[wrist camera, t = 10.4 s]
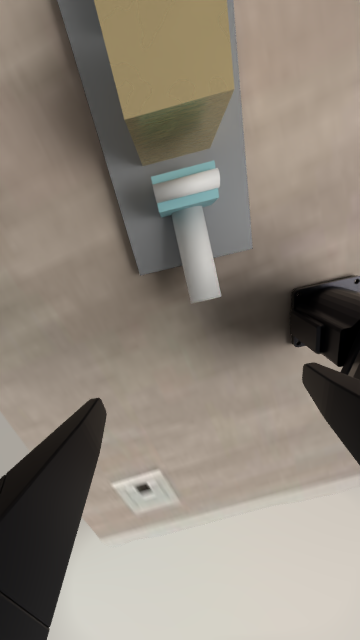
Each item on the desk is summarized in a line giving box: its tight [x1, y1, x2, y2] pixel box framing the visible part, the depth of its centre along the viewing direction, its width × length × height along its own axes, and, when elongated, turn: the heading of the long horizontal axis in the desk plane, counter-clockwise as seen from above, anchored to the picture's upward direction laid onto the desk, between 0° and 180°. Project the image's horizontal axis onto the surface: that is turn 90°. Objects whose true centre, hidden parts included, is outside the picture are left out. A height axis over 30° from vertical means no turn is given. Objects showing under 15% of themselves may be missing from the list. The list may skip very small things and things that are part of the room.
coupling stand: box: [57, 0, 253, 303], centre depth 12 cm, size 10×26×5 cm, turn 13°
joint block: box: [94, 0, 235, 166], centre depth 11 cm, size 5×5×6 cm
